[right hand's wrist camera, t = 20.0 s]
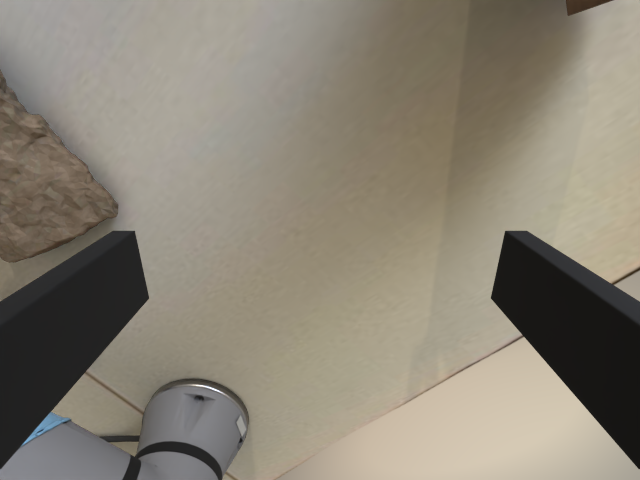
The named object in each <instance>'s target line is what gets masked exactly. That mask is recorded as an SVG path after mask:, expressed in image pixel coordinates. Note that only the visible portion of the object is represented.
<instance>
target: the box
mask: <svg viewBox="0 0 640 480" xmlns="http://www.w3.org/2000/svg"><path fill="white" fill-rule="evenodd" d="M610 1H613V0H566V4H567V13H568V16H569V15H572V14H575V13H578V12H581V11H584V10H587V9H590V8H593V7H595V6H598V5H601V4H604V3H607V2H610Z"/></svg>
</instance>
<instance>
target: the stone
mask: <svg viewBox="0 0 640 480" xmlns="http://www.w3.org/2000/svg"><path fill="white" fill-rule="evenodd" d="M117 214H118V204H117V203H116V202H115V201H114V199H113V198H112V196H111V195H110V193H109V192H108V191H107V190H106V189H104V188H103V187H102V186H101V185H100V184H99V183H98V182H96V181H95V180H94V178H93V176H92V175H91V173H90V172H89V170H88V166H87V165H86V164H85V163H84V162H82V161H81V160H80V159H78V158H77V157H76V155H74V154H72V153H70V152H69V151H68V150H67V149H66V148H65V146H64V145H63V143H62V141H61V139H60V138H59V137H58V136H57V135H55V133H54V132H53V131H52V130H51V129H50V128H49V125H48V123H47V122H46V121H45V120H44V119H43V117H42V116H40V115H31V114H29V113H27V111H26V109H25V107H24V106H23V105H22V104H20V103H19V102H18V99H17V97H16V95H15V93H14V91H13V90H12V89H11V88H9V87H7V85H6V80H5V78H4V77H3V75H2V72H1V70H0V257H1V258H2V259H3V260H4V261H7V262H17V261H20V260H23V259H26V258H31V257H34V256H36V255H39V254H42V253H44V252H47V251H49V250H51V249H54V248H57V247H59V246H61V245H63V244H65V243H68V242H70V241H71V240H73V239H75V238H76V237H77V236H80V235H84V234H85V233H86V232H87V231H88V230H89V229H91V228H93V227H95V226H97V225H98V224H99V223H100V222H102V221H103V220H105V219H106V218H114V217H116V216H117Z"/></svg>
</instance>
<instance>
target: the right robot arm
mask: <svg viewBox="0 0 640 480" xmlns="http://www.w3.org/2000/svg"><path fill="white" fill-rule="evenodd" d="M148 299H149V296H148V291H147V286H146V281H145V277H144V272H143V267H142V263H141V258H140V253H139V249H138V244H137V239H136V235H135V231H112V232H111V233H109V234H107V235H106V236H104V237H103V238H101V239H99V240H98V241H96V242H95V243H93V244H91V245H90V246H88V247H87V248H85V249H84V250H82V251H80V252H79V253H77V254H76V255H74V256H72V257H71V258H69V259H68V260H66V261H64V262H63V263H61V264H60V265H58V266H56V267H55V268H53V269H52V270H50V271H48V272H47V273H45V274H44V275H42V276H41V277H39V278H37V279H36V280H34V281H33V282H31V283H29V284H28V285H26V286H25V287H23V288H21V289H20V290H18V291H17V292H15V293H13V294H12V295H10V296H9V297H7V298H5V299H4V300H2V301H1V302H0V480H222V478H223V475H224V474H225V472H226V471H227V469H228V467H229V466H230V464H231V462H232V461H233V459H234V457H235V456H236V454H237V452H238V451H239V449H240V448H241V446H242V444H243V442H244V440H245V437H246V434H247V429H248V424H249V416H248V412H247V409H246V407H245V405H244V404H243V402H242V401H241V400H240V398H239V397H238V396H237V395H236V394H234V393H233V392H232V391H230V390H229V389H227V388H226V387H224V386H222V385H220V384H217V383H214V382H211V381H207V380H202V379H183V380H177V381H174V382H171V383H168V384H166V385H164V386H163V387H161V388H160V389H159V390H157V391H156V392H155V394H154V395H153V396H152V398H151V400H150V401H149V403H148V405H147V407H146V409H145V412H144V415H143V420H142V429H141V433H140V436H108V437H98V436H96V435H94V434H93V433H91V432H89V431H87V430H86V429H84V428H82V427H80V426H79V425H77V424H75V423H73V422H72V421H71V419H70V418H63V417H61V416H58V415H56V414H54V413H52V412H51V411H52V410H53V409H54V407H55V406H56V405H57V404H58V403H59V402H60V400H61V399H62V398H63V397H64V396H65V395H66V394H67V392H68V391H69V390H70V389H71V388H72V387H73V385H74V384H75V383H76V382H77V381H78V380H79V379H80V377H81V376H82V375H83V374H84V373H85V372H86V370H87V369H88V368H89V367H90V366H91V365H92V364H93V362H94V361H95V360H96V359H97V358H98V357H99V355H100V354H101V353H102V352H103V351H104V350H105V349H106V347H107V346H108V345H109V344H110V343H111V342H112V340H113V339H114V338H115V337H116V336H117V335H118V334H119V332H120V331H121V330H122V329H123V328H124V327H125V325H126V324H127V323H128V322H129V321H130V320H131V319H132V317H133V316H134V315H135V314H136V313H137V312H138V310H139V309H140V308H141V307H142V306H143V305H144V304H145V302H146V301H147V300H148ZM491 299H492V300H493V301H494V302H495V304H496V305H497V306H498V307H499V308H500V309H501V310H502V312H503V313H504V314H505V315H506V316H507V317H508V319H509V320H510V321H511V322H512V323H513V324H514V325H515V327H516V328H517V329H518V330H519V331H520V332H521V334H522V335H523V336H524V337H525V338H526V339H527V340H528V342H529V343H530V344H531V345H532V346H533V347H534V349H535V350H536V351H537V352H538V353H539V354H540V355H541V357H542V358H543V359H544V360H545V361H546V362H547V364H548V365H549V366H550V367H551V368H552V369H553V370H554V372H555V373H556V374H557V375H558V376H559V377H560V378H561V380H562V381H563V382H564V383H565V384H566V385H567V387H568V388H569V389H570V390H571V391H572V392H573V394H574V395H575V396H576V397H577V398H578V399H579V400H580V402H581V403H582V404H583V405H584V406H585V407H586V409H587V410H588V411H589V412H590V413H591V414H592V415H593V417H594V418H595V419H596V420H597V421H598V422H599V424H600V425H601V426H602V427H603V428H604V429H605V430H606V432H607V433H608V434H609V435H610V436H611V437H612V439H613V440H614V441H615V442H616V443H617V444H618V445H619V447H620V448H621V449H622V450H623V451H624V452H625V454H626V455H627V456H628V457H629V458H630V459H631V460H632V462H633V463H634V464H635V465H636V466H637V467H638V469H640V302H639V301H638V300H636V299H635V298H633V297H631V296H630V295H628V294H627V293H625V292H623V291H622V290H620V289H619V288H617V287H615V286H614V285H612V284H611V283H609V282H607V281H606V280H604V279H603V278H601V277H599V276H598V275H596V274H595V273H593V272H592V271H590V270H588V269H587V268H585V267H584V266H582V265H580V264H579V263H577V262H576V261H574V260H572V259H571V258H569V257H568V256H566V255H564V254H563V253H561V252H560V251H558V250H556V249H555V248H553V247H552V246H550V245H549V244H547V243H545V242H544V241H542V240H541V239H539V238H537V237H536V236H534V235H533V234H531V233H529V232H528V231H505V235H504V239H503V244H502V249H501V253H500V258H499V263H498V267H497V272H496V277H495V281H494V286H493V291H492V295H491ZM109 442H139V443H138V449H137V454H136V456H135V457H134V456H132V455H130V454H129V453H127V452H125V451H123V450H121V449H120V448H118V447H116V446H114V445H112V444H110V443H109Z"/></svg>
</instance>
